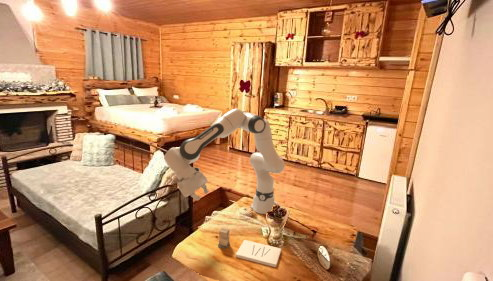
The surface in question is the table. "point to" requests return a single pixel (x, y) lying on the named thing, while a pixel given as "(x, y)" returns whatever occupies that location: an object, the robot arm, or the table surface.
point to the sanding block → (224, 238)
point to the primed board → (259, 253)
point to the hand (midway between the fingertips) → (203, 196)
